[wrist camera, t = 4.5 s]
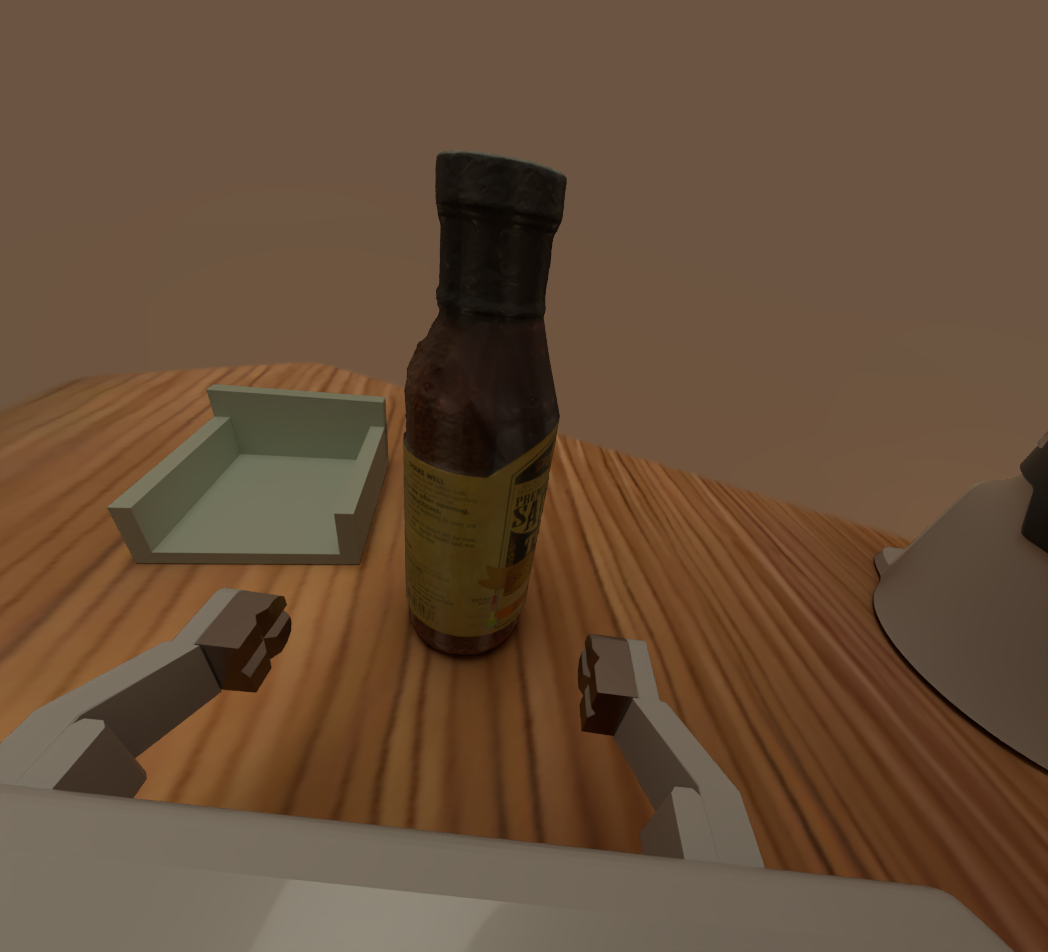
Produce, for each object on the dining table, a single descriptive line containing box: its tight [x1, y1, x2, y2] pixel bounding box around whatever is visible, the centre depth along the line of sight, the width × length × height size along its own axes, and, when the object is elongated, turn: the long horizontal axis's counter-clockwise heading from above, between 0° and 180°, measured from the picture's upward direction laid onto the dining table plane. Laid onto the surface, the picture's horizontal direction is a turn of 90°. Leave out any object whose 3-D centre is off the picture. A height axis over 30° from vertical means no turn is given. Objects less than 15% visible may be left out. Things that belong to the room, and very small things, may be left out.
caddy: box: [107, 384, 389, 564], centre depth 26 cm, size 12×12×6 cm
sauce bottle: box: [403, 150, 567, 655], centre depth 17 cm, size 6×6×20 cm
